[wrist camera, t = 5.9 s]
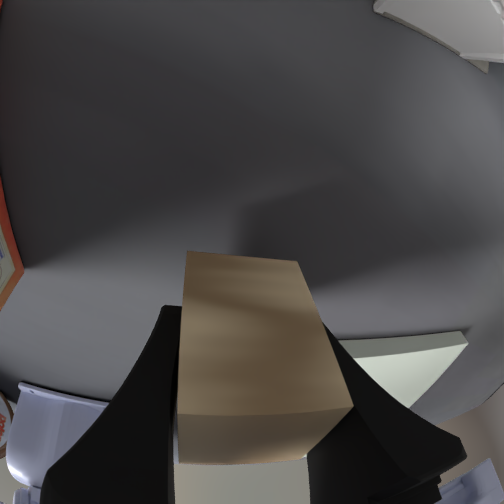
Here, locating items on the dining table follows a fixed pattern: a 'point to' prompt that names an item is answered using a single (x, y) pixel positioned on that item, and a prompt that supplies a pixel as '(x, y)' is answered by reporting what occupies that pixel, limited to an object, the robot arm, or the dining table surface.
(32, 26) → the dining table surface
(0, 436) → the tin
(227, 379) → the pine block
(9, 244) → the cracker box
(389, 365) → the board
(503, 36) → the skyscraper
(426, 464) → the robot arm
